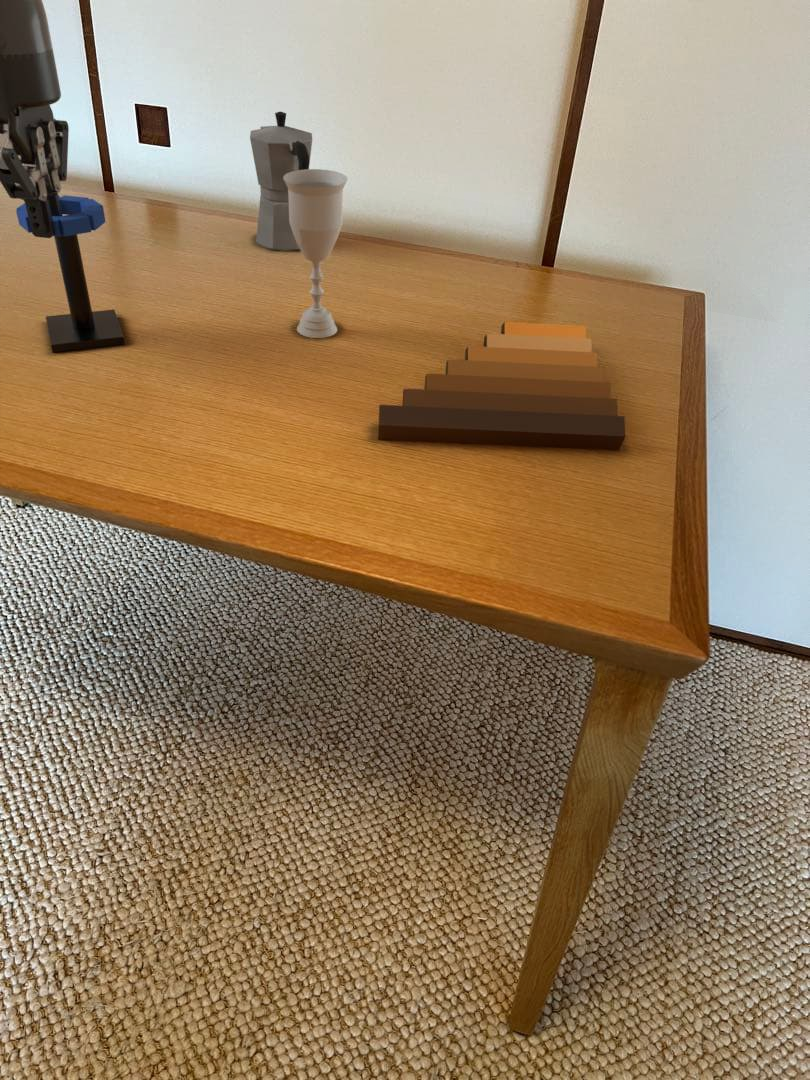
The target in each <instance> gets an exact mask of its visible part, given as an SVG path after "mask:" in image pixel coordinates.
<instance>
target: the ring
mask: <svg viewBox="0 0 810 1080" xmlns="http://www.w3.org/2000/svg"><path fill="white" fill-rule="evenodd" d="M58 196H59V201H60V206H61V211H62V216H52V219H53V225H54V229H55V235H54V236H61V235H64V236H71V235H76V234H77V235H82V234H87V233H92V231H96V230H98V229H99V228H100V227H102V225H104V224H106V214H105V210H104V205H102V204H101V203H100V202H98V201H97V200H95V199H94V198H89V197H87V196H86V197H85V196H74V195H62V196H60V195H58ZM15 212H16V217H17V222H18V225H19V226H20V227H21V228H23V229H24V230H25V232H28V233H29V234H30V233H31V234H32V231H31V227H30V222H29V218H28V213H27V209H26V205H25V202H24V203H23V204H21V205H19V206H18V207H16V210H15ZM54 236H53V237H54Z"/></svg>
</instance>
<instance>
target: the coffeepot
mask: <svg viewBox="0 0 810 1080" xmlns="http://www.w3.org/2000/svg"><path fill="white" fill-rule="evenodd" d="M274 115H275V121H276V125H266V126H265V125H263V126H260V127H259V128H258V129H253V130H250V135H249V140H250V145H251V151H252V155H253V156H252V157H253V161H254V162H253V163H254V168H255V172H256V177H257V178H256V179H257V183H258V185H259V187H260V188H259V189H260V196H259V207H258V216H257V226H256V227H257V229H256V239H255V243H256V244H258V245H259V246H261V247H262V248H264V249H268V250H271V251H272V250H273V251H277V252H281V251H282V252H292V251H301V250H300V248H299V246H298V244H297V242H296V240H295V237H294V234H293V232H292V229H291V226H290V222H289V195H288V187H287V185H286V183H285V181H284V178H283V176H284V175H285V174H287V173H290V172H293V171H297V170H305V169H310V163H311V153H312V147H313V146H312V144H313V133H312V132H309V131H305V130H302V129H299V128H295V127H291V126H288V125H286V120H287V113H286V112H284V111H277V112H275V113H274Z"/></svg>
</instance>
